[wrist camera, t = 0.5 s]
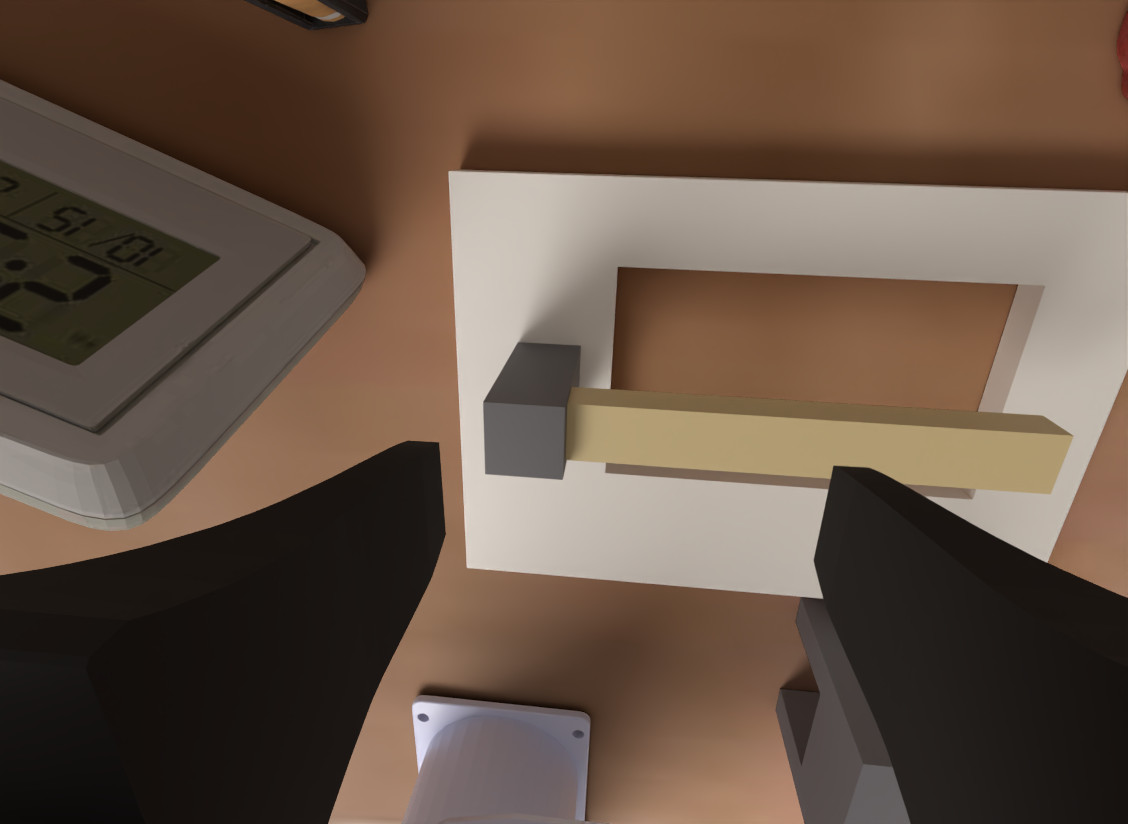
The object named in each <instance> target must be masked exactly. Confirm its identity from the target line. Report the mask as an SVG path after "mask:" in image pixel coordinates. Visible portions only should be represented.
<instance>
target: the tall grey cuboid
mask: <svg viewBox="0 0 1128 824" xmlns="http://www.w3.org/2000/svg"><path fill="white" fill-rule="evenodd" d="M796 624H797V627H798V630H799V633H800V636H801V639H802V642H803V645H804V648H805V651H806V654H807V656H808V659H809V662H810V665H811V668H812V671H813V674H814V677H815V680H816V683H817V686H818V688H819V691H820V693H817V692H807V691H797V690H787V689H780V693H779V697H778V701H777V706H776V713H777V717H778V721H779V725H780V729H781V733H782V737H783V741H784V745H785V748H786V752H787V756H788V760H789V764H790V768H791V772H792V776H793V780H794V784H795V788H796V792H797V796H798V800H799V804H800V807H801V811H802V815H803V819H804V823H805V824H910V820H909V817H908V814H907V810H906V807H905V804H904V801H903V798H902V795H901V792H900V789H899V786H898V782H897V779H896V776H895V773H894V770H893V767H892V764H891V761H890V758H889V754H888V752H887V749H886V746H885V744H884V741H883V739H882V736H881V733H880V731H879V728H878V726H877V723H876V721H875V719H874V716H873V714H872V712H871V710H870V707H869V705H868V703H867V701H866V698H865V696H864V694H863V692H862V689H861V687H860V685H859V683H858V680H857V678H856V676H855V674H854V671H853V669H852V667H851V665H850V662H849V660H848V658H847V656H846V653H845V651H844V649H843V647H842V644H841V642H840V640H839V637H838V635H837V633H836V630H835V628H834V626H833V623H832V621H831V619H830V616H829V614H828V611H827V609H826V606H825V602H824V599H814V598H803V597H801V600H800V604H799V609H798V613H797V617H796Z"/></svg>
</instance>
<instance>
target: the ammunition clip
mask: <svg viewBox="0 0 1128 824" xmlns="http://www.w3.org/2000/svg"><path fill="white" fill-rule="evenodd" d="M245 1H247V2H249V3H251V4H253V5H255V6H258V7H260V8H262V9H264V10H266V11H268V12H271V13H273V14H275V15H277V16H279V17H281V18H284V19H286V20H288V21H290V22H292V23H294V24H297V25H299V26H301V27H303V28H305V29H307V30H317V29H324V28H332V27H339V26H347V25H354V24H362V23H365V21H366V19H367V17H368V11H367V6H366V1H365V0H245Z"/></svg>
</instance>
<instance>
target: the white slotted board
mask: <svg viewBox="0 0 1128 824" xmlns="http://www.w3.org/2000/svg"><path fill="white" fill-rule="evenodd" d="M449 193H450V215H451V236H452V258H453V279H454V301H455V322H456V344H457V366H458V387H459V409H460V430H461V452H462V473H463V495H464V516H465V538H466V560H467V568H475V569H487V570H498V571H510V572H521V573H533V574H544V575H556V576H567V577H579V578H591V579H602V580H614V581H625V582H637V583H648V584H660V585H671V586H683V587H695V588H706V589H718V590H729V591H741V592H752V593H764V594H775V595H787V596H798V597H810V598H822V599H823V595H822V592H821V588H820V585H819V581H818V577H817V573H816V569H815V565H814V561H813V560H814V556H815V551H816V546H817V541H818V537H819V532H820V527H821V522H822V518H823V513H824V508H825V503H826V499H827V494H828V489H829V484H830V480H831V475H832V470H833V466H850V467H868V468H872V469H874V470H876V471H879V472H881V473H883V474H885V475H887V476H889V477H891V478H893V479H894V480H896V481H898V482H900V483H902V484H904V485H905V486H907V487H909V488H911V489H912V490H914V491H916V492H918V493H919V494H921V495H923V496H925V497H926V498H928V499H930V500H931V501H933V502H935V503H937V504H938V505H940V506H942V507H944V508H945V509H947V510H949V511H951V512H952V513H954V514H956V515H958V516H959V517H961V518H963V519H965V520H966V521H968V522H970V523H972V524H973V525H975V526H977V527H979V528H981V529H983V530H984V531H986V532H988V533H990V534H992V535H994V536H995V537H997V538H999V539H1001V540H1003V541H1005V542H1007V543H1009V544H1011V545H1013V546H1015V547H1017V548H1019V549H1021V550H1023V551H1025V552H1027V553H1028V554H1030V555H1032V556H1034V557H1036V558H1038V559H1040V560H1043V561H1045V562H1048V560H1049V557H1050V555H1051V552H1052V550H1053V548H1054V545H1055V543H1056V540H1057V538H1058V536H1059V533H1060V531H1061V528H1062V526H1063V524H1064V521H1065V519H1066V516H1067V514H1068V511H1069V509H1070V507H1071V504H1072V502H1073V499H1074V497H1075V495H1076V492H1077V490H1078V487H1079V485H1080V483H1081V480H1082V478H1083V475H1084V473H1085V471H1086V468H1087V466H1088V463H1089V461H1090V459H1091V456H1092V454H1093V451H1094V449H1095V447H1096V444H1097V442H1098V439H1099V437H1100V435H1101V432H1102V430H1103V427H1104V425H1105V423H1106V420H1107V418H1108V415H1109V413H1110V411H1111V408H1112V406H1113V403H1114V401H1115V399H1116V396H1117V394H1118V391H1119V389H1120V387H1121V384H1122V382H1123V379H1124V377H1125V375H1126V372H1127V370H1128V191H1116V190H1085V189H1054V188H1022V187H991V186H959V185H928V184H896V183H865V182H833V181H802V180H770V179H739V178H707V177H676V176H644V175H613V174H581V173H550V172H518V171H487V170H453V171H449ZM618 267H636V268H658V269H681V270H704V271H726V272H749V273H772V274H794V275H817V276H840V277H862V278H885V279H907V280H930V281H953V282H975V283H998V284H1018V288H1017V291H1016V294H1015V297H1014V300H1013V303H1012V306H1011V309H1010V312H1009V316H1008V319H1007V322H1006V325H1005V328H1004V331H1003V334H1002V337H1001V340H1000V344H999V347H998V350H997V353H996V356H995V359H994V362H993V365H992V368H991V371H990V375H989V378H988V381H987V384H986V387H985V390H984V393H983V396H982V399H981V403H980V406H979V409H978V411H962V410H945V409H929V408H912V407H896V406H879V405H863V404H847V403H830V402H814V401H797V400H781V399H764V398H748V397H731V396H715V395H698V394H682V393H666V392H649V391H633V390H616V389H611V373H612V356H613V340H614V323H615V306H616V290H617V273H618Z"/></svg>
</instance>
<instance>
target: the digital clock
mask: <svg viewBox="0 0 1128 824" xmlns="http://www.w3.org/2000/svg"><path fill="white" fill-rule="evenodd" d="M365 274H366V269H365V265H364V264H363V263H362V261H361V260H360V259H359V258H358V257H357V255H356V254H355V253H354V252H353V251H352V250H351V248H350V247H349V246H348V245H347V244H346V243H345V242H344V241H343V239H342V238H341V237H340V236H338V235H337V234H335V233H334V232H332V231H330V230H329V229H327V228H325V227H323V226H321V225H319V224H317V223H315V222H312V221H310V220H308V219H306V218H304V217H302V216H300V215H298V214H296V213H293V212H291V211H289V210H287V209H285V208H283V207H280V206H278V205H276V204H274V203H272V202H270V201H267V200H265V199H263V198H261V197H259V196H256V195H254V194H252V193H250V192H248V191H245V190H243V189H241V188H239V187H237V186H234V185H232V184H230V183H228V182H225V181H223V180H221V179H219V178H217V177H214V176H212V175H210V174H208V173H206V172H203V171H201V170H199V169H197V168H195V167H192V166H190V165H188V164H186V163H184V162H181V161H179V160H177V159H175V158H172V157H170V156H168V155H166V154H164V153H161V152H159V151H157V150H155V149H153V148H150V147H148V146H146V145H144V144H142V143H139V142H137V141H135V140H133V139H130V138H128V137H126V136H124V135H122V134H119V133H117V132H115V131H113V130H111V129H108V128H106V127H104V126H102V125H100V124H97V123H95V122H93V121H91V120H89V119H86V118H84V117H82V116H80V115H77V114H75V113H73V112H71V111H69V110H66V109H64V108H62V107H60V106H58V105H55V104H53V103H51V102H49V101H47V100H44V99H42V98H40V97H38V96H35V95H33V94H31V93H29V92H27V91H24V90H22V89H20V88H18V87H16V86H13V85H11V84H9V83H7V82H5V81H2V80H0V494H2V495H5V496H7V497H10V498H12V499H15V500H17V501H20V502H22V503H25V504H27V505H30V506H32V507H35V508H37V509H40V510H42V511H45V512H47V513H50V514H52V515H55V516H57V517H60V518H62V519H65V520H67V521H70V522H73V523H77V524H80V525H83V526H86V527H89V528H94V529H101V530H107V531H116V530H128V529H131V528H133V527H136V526H139V525H141V524H143V523H145V522H146V521H148V520H149V519H150V518H152V517H153V516H155V515H156V514H157V513H158V512H159V511H161V510H162V509H163V508H164V507H165V506H166V505H167V504H168V503H169V502H170V501H171V500H172V499H173V498H174V497H175V496H176V495H177V494H178V493H179V492H180V491H181V490H182V489H183V488H184V487H185V486H186V485H187V484H188V483H189V482H190V481H191V480H192V479H193V478H194V477H195V476H196V475H197V473H198V472H199V471H200V470H201V469H202V468H203V467H204V466H205V465H206V464H207V462H208V461H209V460H210V459H211V458H212V457H213V456H214V455H215V454H216V453H217V451H218V450H219V449H220V448H221V447H222V446H223V445H224V444H225V443H226V442H227V440H228V439H229V438H230V437H231V436H232V435H233V434H234V433H235V432H236V431H237V429H238V428H239V427H240V426H241V425H242V424H243V423H244V422H245V421H246V420H247V418H248V417H249V416H250V415H251V414H252V413H253V412H254V411H255V410H256V409H257V408H258V406H259V405H260V404H261V403H262V402H263V401H264V400H265V399H266V398H267V396H268V395H269V394H270V393H271V392H272V391H273V390H274V389H275V388H276V387H277V385H278V384H279V383H280V382H281V381H282V380H283V379H284V378H285V377H286V376H287V374H288V373H289V372H290V371H291V370H292V369H293V368H294V367H295V366H296V365H297V364H298V362H299V361H300V360H301V359H302V358H303V357H304V356H305V355H306V354H307V353H308V351H309V350H310V349H311V348H312V347H313V346H314V345H315V344H316V343H317V342H318V340H319V339H320V338H321V337H322V336H323V335H324V334H325V333H326V332H327V331H328V329H329V328H330V327H331V326H332V325H333V324H334V323H335V322H336V321H337V320H338V318H339V317H340V316H341V315H342V314H343V313H344V312H345V311H346V310H347V308H348V307H349V306H350V305H351V303H352V302H353V301H354V299H355V298H356V296H357V295H358V293H359V292H360V290H361V288H362V285H363V282H364V279H365Z"/></svg>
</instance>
